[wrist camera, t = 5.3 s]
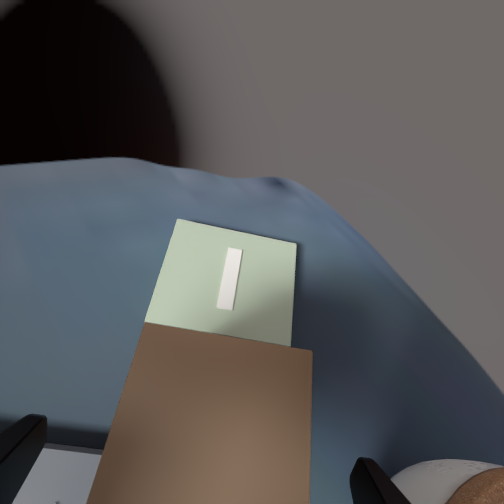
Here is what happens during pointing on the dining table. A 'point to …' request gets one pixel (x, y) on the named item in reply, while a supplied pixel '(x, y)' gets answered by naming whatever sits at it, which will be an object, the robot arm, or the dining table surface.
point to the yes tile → (226, 284)
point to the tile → (60, 476)
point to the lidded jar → (452, 482)
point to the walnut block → (209, 423)
